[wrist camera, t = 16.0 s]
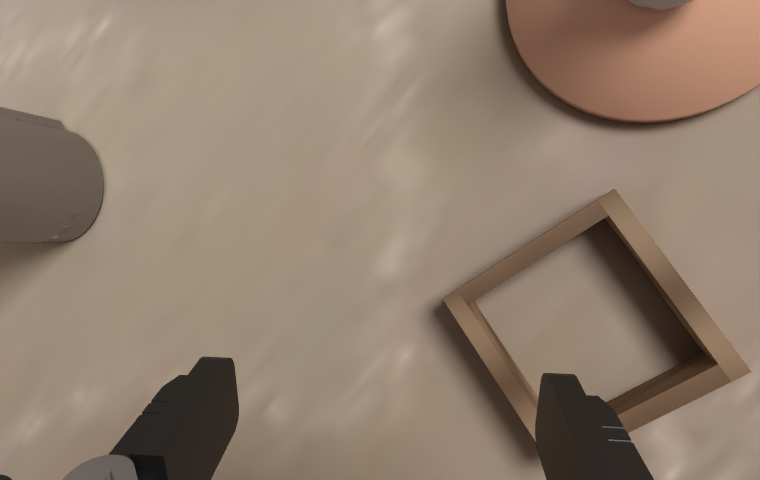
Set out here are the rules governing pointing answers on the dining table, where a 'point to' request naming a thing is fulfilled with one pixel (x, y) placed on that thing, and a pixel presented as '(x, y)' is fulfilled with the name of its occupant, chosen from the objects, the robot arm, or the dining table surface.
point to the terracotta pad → (640, 54)
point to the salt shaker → (659, 3)
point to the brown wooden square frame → (718, 353)
